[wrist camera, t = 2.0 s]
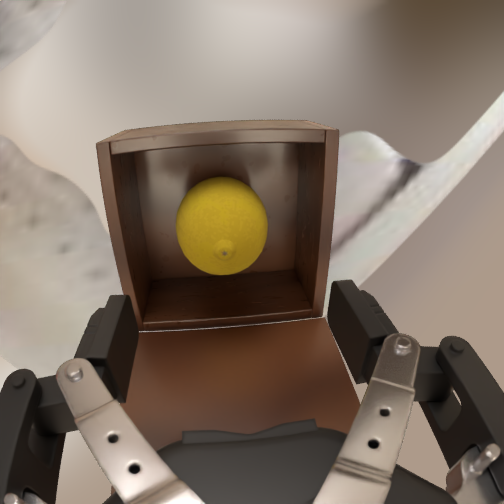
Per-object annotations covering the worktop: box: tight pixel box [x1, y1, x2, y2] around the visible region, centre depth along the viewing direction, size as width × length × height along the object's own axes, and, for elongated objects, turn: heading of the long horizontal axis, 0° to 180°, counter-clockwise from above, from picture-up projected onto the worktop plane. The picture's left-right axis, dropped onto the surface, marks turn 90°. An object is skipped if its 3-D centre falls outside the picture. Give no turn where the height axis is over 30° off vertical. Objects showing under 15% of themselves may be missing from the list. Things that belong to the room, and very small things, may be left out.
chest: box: [96, 120, 339, 331], centre depth 21 cm, size 13×13×6 cm
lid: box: [111, 317, 361, 495], centre depth 17 cm, size 13×13×6 cm
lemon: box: [176, 177, 268, 275], centre depth 20 cm, size 6×6×8 cm
